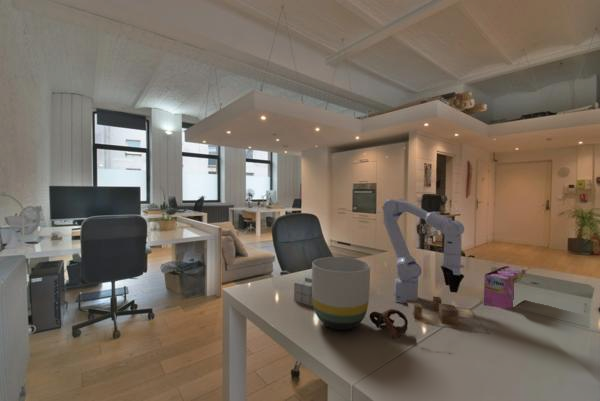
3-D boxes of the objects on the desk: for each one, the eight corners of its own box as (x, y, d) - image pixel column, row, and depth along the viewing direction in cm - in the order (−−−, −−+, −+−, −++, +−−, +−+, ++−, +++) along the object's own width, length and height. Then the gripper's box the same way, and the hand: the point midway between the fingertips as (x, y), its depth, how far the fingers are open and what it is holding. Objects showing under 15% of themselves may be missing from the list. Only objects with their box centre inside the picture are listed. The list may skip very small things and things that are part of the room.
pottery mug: (400, 325, 95) (409, 310, 91) (402, 351, 87) (411, 335, 83) (366, 314, 97) (373, 299, 93) (365, 338, 89) (372, 322, 85)
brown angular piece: (415, 324, 94) (415, 308, 94) (412, 314, 102) (413, 300, 101) (458, 330, 90) (459, 314, 90) (453, 320, 98) (453, 305, 97)
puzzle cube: (318, 308, 107) (318, 288, 107) (293, 301, 114) (294, 282, 114) (332, 298, 117) (333, 280, 117) (309, 292, 124) (309, 275, 124)
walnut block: (441, 323, 93) (441, 309, 93) (438, 317, 98) (438, 303, 98) (457, 325, 92) (458, 311, 91) (454, 319, 96) (454, 305, 96)
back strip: (435, 315, 101) (435, 301, 101) (431, 307, 108) (432, 294, 108) (476, 321, 97) (477, 306, 97) (470, 312, 104) (470, 298, 104)
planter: (331, 346, 81) (333, 275, 80) (301, 318, 98) (302, 259, 97) (381, 332, 90) (382, 267, 89) (345, 308, 107) (346, 254, 106)
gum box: (504, 294, 125) (506, 265, 125) (526, 300, 119) (527, 269, 118) (482, 306, 112) (484, 273, 111) (505, 313, 105) (507, 279, 105)
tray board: (431, 329, 91) (431, 325, 91) (422, 306, 110) (422, 302, 110) (489, 338, 87) (490, 333, 87) (470, 312, 105) (470, 308, 105)
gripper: (470, 258, 95) (468, 296, 95) (458, 249, 109) (457, 283, 109) (447, 256, 97) (446, 294, 97) (439, 248, 111) (438, 281, 111)
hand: (451, 288), depth 103 cm, fingers open, 7 cm apart
